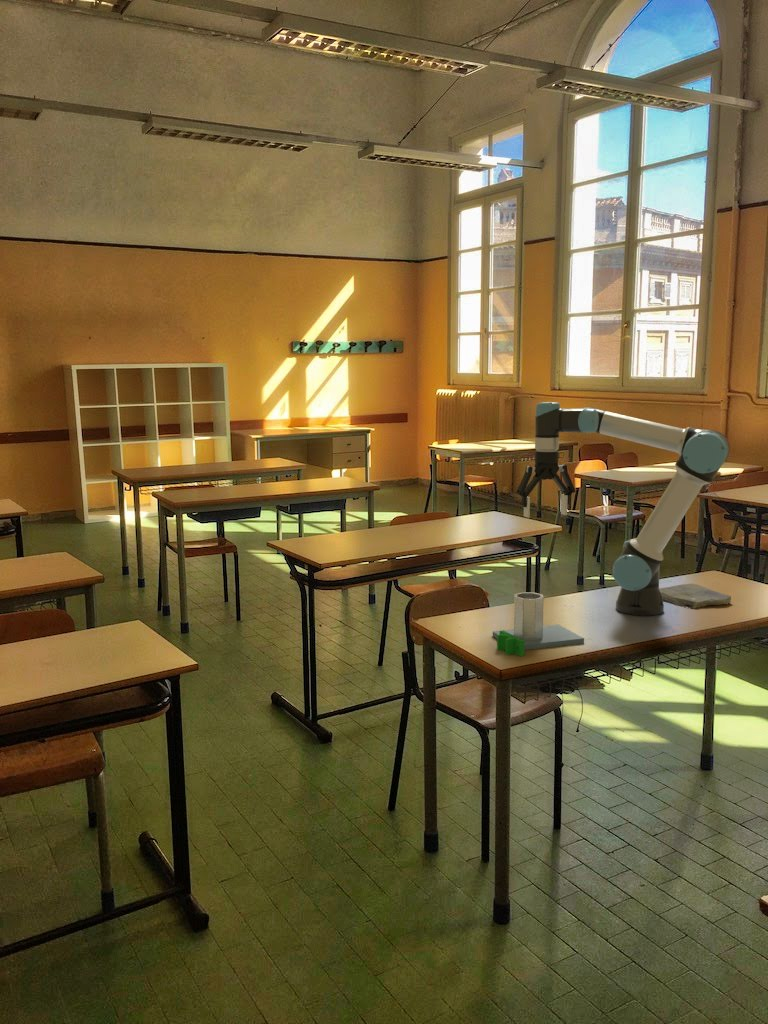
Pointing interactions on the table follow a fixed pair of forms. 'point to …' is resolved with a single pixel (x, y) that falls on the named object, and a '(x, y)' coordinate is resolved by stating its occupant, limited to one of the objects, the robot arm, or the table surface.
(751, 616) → the table surface
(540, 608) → the sleeve
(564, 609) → the table surface
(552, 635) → the base
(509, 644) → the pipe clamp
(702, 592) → the fossil
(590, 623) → the table surface
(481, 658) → the table surface
